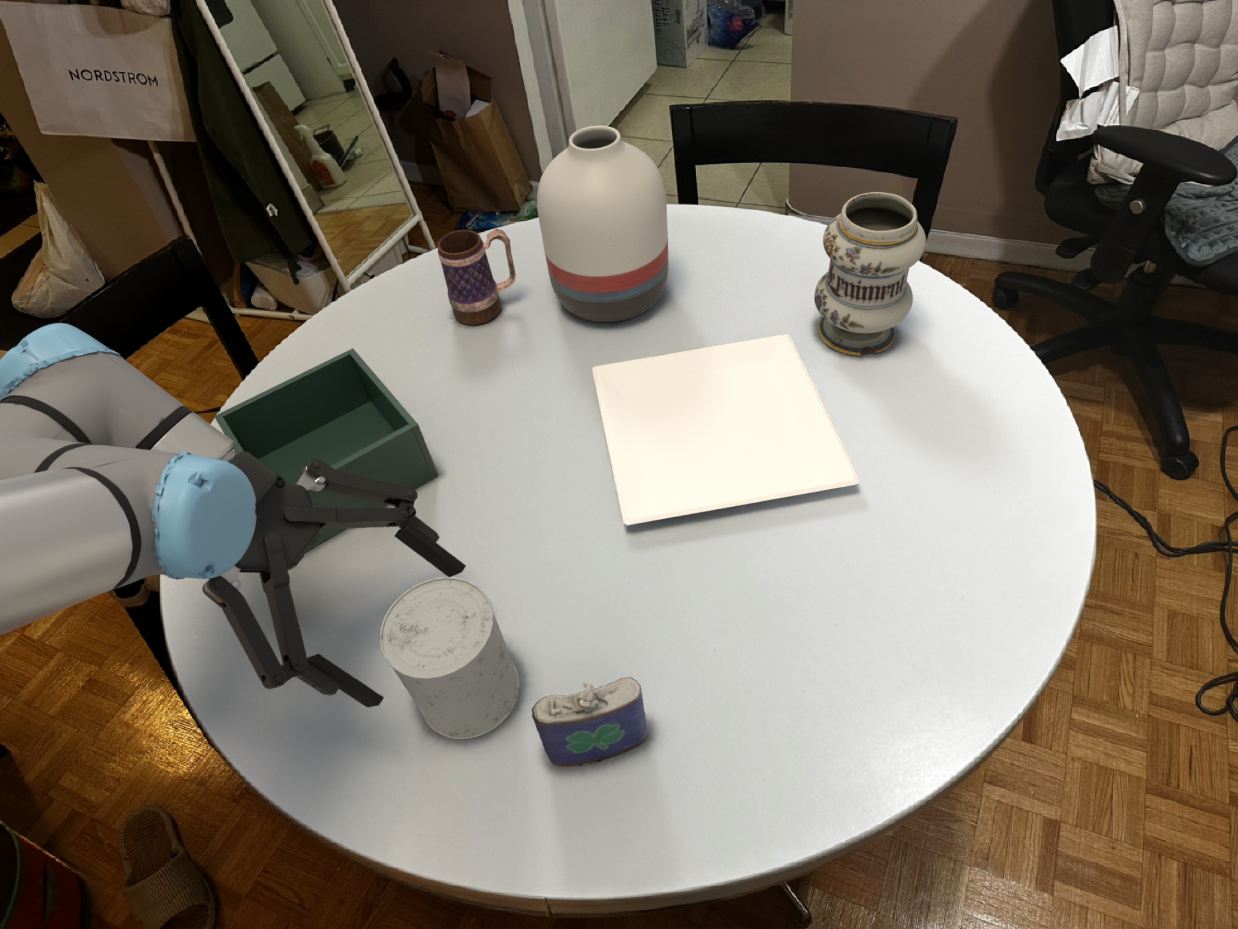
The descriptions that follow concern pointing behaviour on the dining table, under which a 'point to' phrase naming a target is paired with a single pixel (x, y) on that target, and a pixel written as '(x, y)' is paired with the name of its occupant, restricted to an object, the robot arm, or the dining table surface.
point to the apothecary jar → (868, 272)
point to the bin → (332, 431)
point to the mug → (472, 275)
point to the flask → (591, 723)
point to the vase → (604, 226)
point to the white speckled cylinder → (451, 656)
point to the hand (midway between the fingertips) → (419, 633)
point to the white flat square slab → (717, 429)
